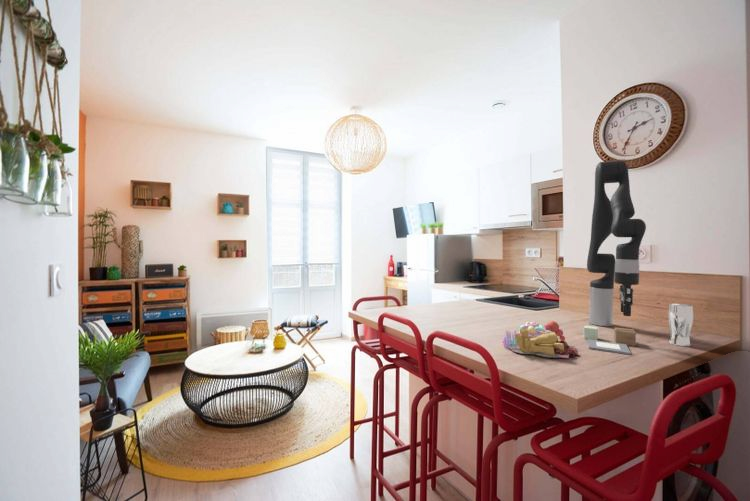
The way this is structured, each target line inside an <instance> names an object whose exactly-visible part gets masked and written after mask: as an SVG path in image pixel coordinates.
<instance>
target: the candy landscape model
mask: <svg viewBox="0 0 750 501" xmlns="http://www.w3.org/2000/svg"><path fill="white" fill-rule="evenodd" d="M518 330H519V331H518V332H516V331H517V330H516V329H515V330H514V331H513V332H512V333H511V332H510V330H507V329H506V330H505V337H504V338H503V341H502V343H503V348H506V350H508V349H509V350H511V351H513V352H514V353H519V354H521V355H522V354H523V355H535V356H540V357H543V358H554V359H555V358H557V359H558V358H564V359H569V358H570V357H572V358H576V356H579V351H578V350H576V349H575V348H573V347H572V346H571V345H570V344H568V342H566V341H565V340H566V337H565V336H564V332H563V330H562V329H560V325H559V324H558V322H556V321H554V320H551V321H548V322H547V323H546V324H544V325H542V324H539V323H537V322H536V321H531V322H528V321H527V322H525V323H524V324H522V325H520V326H519V329H518Z"/></svg>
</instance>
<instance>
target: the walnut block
mask: <svg viewBox="0 0 750 501" xmlns="http://www.w3.org/2000/svg"><path fill="white" fill-rule="evenodd" d="M613 334H614V336H613V338H614V343H620V344H626V345H627V346H631V347H632V346H633V347H636V343H637V342H636V341H637V336H636V335H637V333H636V331H635V329H633V328H632V329H630V328H624V327H623V328H622V327H614V333H613Z"/></svg>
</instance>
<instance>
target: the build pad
mask: <svg viewBox="0 0 750 501" xmlns="http://www.w3.org/2000/svg"><path fill="white" fill-rule="evenodd" d="M587 343H588V344H587V345H588V349H589V350H595V351H596V350H597V351H603V352H609V353H616V354H622V355H629V356H630V355H632V354H631V350H630V349H629V347H628V345H626V344H620V343H615V342H612V341H611V342H610V341H603V340H598V341H597V340H590V339H587Z"/></svg>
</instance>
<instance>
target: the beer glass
mask: <svg viewBox="0 0 750 501" xmlns="http://www.w3.org/2000/svg"><path fill="white" fill-rule="evenodd" d="M668 307H669V308H668V324H669V329H670V336H669V337H670V338H669V341H668V342H669V344H671V345H675V346H680V347H691V340H690V334H691V330H692V327H693V323H694V309H693V308H694V307H693V305H691V304H686V303H673V302H672V303H669V306H668Z"/></svg>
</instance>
